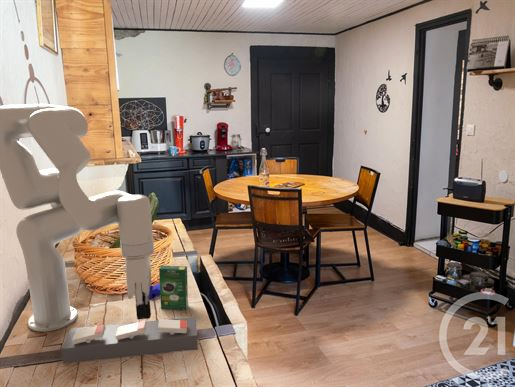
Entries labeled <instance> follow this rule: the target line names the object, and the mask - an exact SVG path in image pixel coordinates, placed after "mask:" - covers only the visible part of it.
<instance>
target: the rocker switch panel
mask: <svg viewBox="0 0 515 387" xmlns="http://www.w3.org/2000/svg"><path fill="white" fill-rule="evenodd" d="M168 320H186V321H187V332H186V333H174V334H173V335H171V334H170V332H158V324H159V319H157V320H149V321H148V320H146V323H147V327H146V333H143V334H139V335H135V336H134V337H133V338H132V339H130V338H129V337H127V338H123V339H120V340H117V339H116V332H117V328H118V327H120V326H124V325H128V324H132V323H136V322H137V321H135V322H126V323H125V322H123V323H117V324H116V323H115V324H114V323H113V324H105V327H106V329H105V332H104V335H103V337H101V338H97V339H93V340H91V342H90V343H87V342H86V341H85V342H81V343H77V344H73V342H72V339H73V337H74V334H75V332H76V331H78V330H82V329H86V328H90V327H94V326H95V325H91V326H85V327H84V326H82V327H73V328H71V327H70V328H69V331H68V333H67V335H66V338H65V339H64V341H63V344H62V346H61V348H60V352H61V360H62V364H72V363H82V362H90V361H91V362H92V361H98V360H99V361H100V360H110V359H118V358H119V359H120V358H127V357H128V358H129V357H138V356H146V355H148V356H149V355H158V354H168V353H177V352H178V353H179V352H187V351H196V350H197V351H198V350H199V348H198V346H199V343H198V327H197V316H191V317H180V318H169V319H168Z"/></svg>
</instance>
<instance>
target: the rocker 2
mask: <svg viewBox="0 0 515 387" xmlns="http://www.w3.org/2000/svg"><path fill="white" fill-rule="evenodd" d="M146 321H147V320H145V319H143V320H140V321H135V322H136V323H134V322H131V323H132V324H128V325H124V326H120V327H118V328H117V332H116V339H117V340H120V339H123V338H127V337H129V338H130V339H132V338H133V337H134V336H135V335H139V334H143V333H146V327H147V323H146Z"/></svg>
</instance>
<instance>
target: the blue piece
mask: <svg viewBox="0 0 515 387" xmlns="http://www.w3.org/2000/svg"><path fill="white" fill-rule="evenodd" d="M157 297H160V282H159V283H157V284H156V285H151V286H150V292H149V300H151V301H152V300H153V299H155V298H157ZM149 300H148V301H149Z"/></svg>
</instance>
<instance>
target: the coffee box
mask: <svg viewBox="0 0 515 387" xmlns="http://www.w3.org/2000/svg"><path fill="white" fill-rule="evenodd" d="M158 274H159V283H160V296H159V297H160V309H161V310H178V311H182V310H185V311H187V310H188V307H189V293H188V288H189V287H188V266H184V265H165V264H164V265H162V264H161V265H160V267H159V269H158Z"/></svg>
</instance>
